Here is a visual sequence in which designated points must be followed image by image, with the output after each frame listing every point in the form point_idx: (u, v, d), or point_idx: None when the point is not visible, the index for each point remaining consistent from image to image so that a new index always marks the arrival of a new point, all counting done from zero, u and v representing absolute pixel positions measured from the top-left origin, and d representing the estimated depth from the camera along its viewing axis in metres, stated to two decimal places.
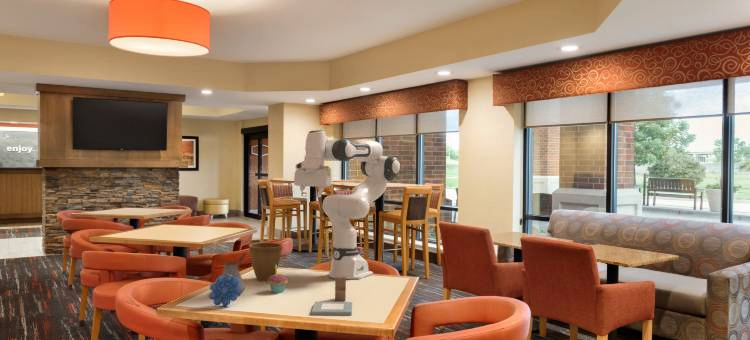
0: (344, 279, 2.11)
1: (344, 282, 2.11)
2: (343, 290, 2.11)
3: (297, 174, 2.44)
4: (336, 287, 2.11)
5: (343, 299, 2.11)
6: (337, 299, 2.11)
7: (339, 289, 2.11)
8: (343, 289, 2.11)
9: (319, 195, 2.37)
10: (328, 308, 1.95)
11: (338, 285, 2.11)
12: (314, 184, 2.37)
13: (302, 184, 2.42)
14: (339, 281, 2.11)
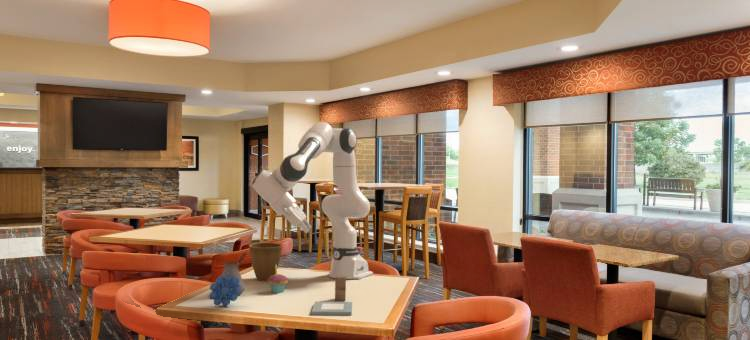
0: (344, 279, 2.11)
1: (344, 282, 2.11)
2: (343, 290, 2.11)
3: None
4: (336, 287, 2.11)
5: (343, 299, 2.11)
6: (337, 299, 2.11)
7: (339, 289, 2.11)
8: (343, 289, 2.11)
9: (306, 231, 2.07)
10: (328, 308, 1.95)
11: (338, 285, 2.11)
12: None
13: None
14: (339, 281, 2.11)
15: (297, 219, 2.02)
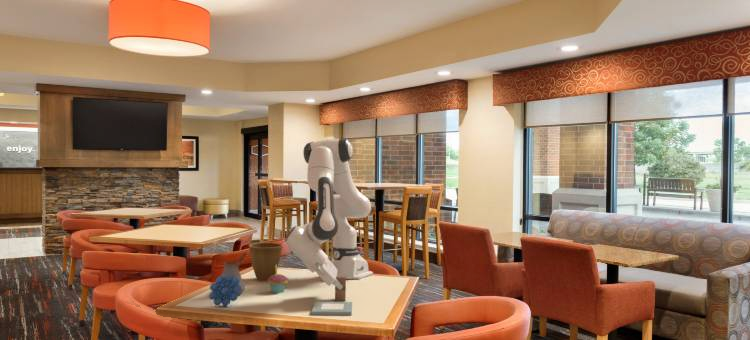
0: (344, 279, 2.11)
1: (344, 282, 2.11)
2: (343, 290, 2.11)
3: None
4: (336, 287, 2.11)
5: (343, 299, 2.11)
6: (337, 299, 2.11)
7: None
8: (343, 289, 2.11)
9: (339, 287, 2.10)
10: (328, 308, 1.95)
11: None
12: None
13: None
14: (339, 281, 2.11)
15: (331, 278, 2.03)
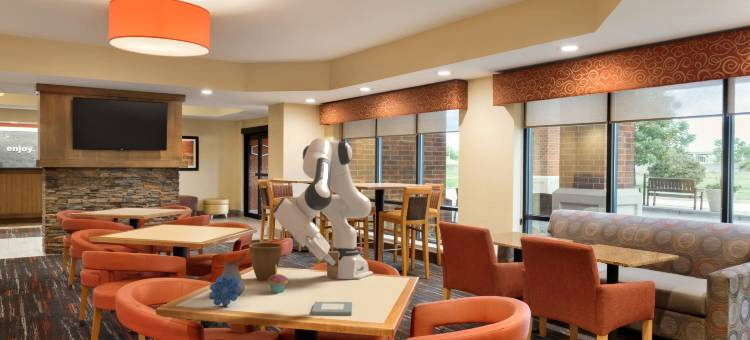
0: (337, 254, 1.96)
1: (337, 257, 1.96)
2: (336, 266, 1.96)
3: None
4: (328, 263, 1.96)
5: (336, 276, 1.96)
6: (329, 276, 1.96)
7: (331, 265, 1.96)
8: (336, 265, 1.96)
9: (332, 263, 1.94)
10: (328, 308, 1.95)
11: None
12: None
13: None
14: (331, 256, 1.96)
15: (323, 252, 1.88)
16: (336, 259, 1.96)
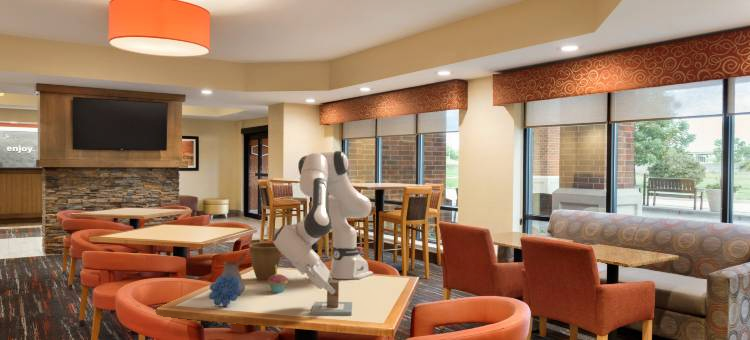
0: (337, 284, 1.96)
1: (337, 287, 1.96)
2: (336, 296, 1.96)
3: None
4: (328, 293, 1.96)
5: (336, 306, 1.96)
6: (329, 306, 1.96)
7: (331, 294, 1.96)
8: (336, 295, 1.96)
9: (331, 292, 1.92)
10: (328, 308, 1.95)
11: None
12: None
13: None
14: (331, 286, 1.96)
15: (322, 281, 1.88)
16: (336, 289, 1.96)
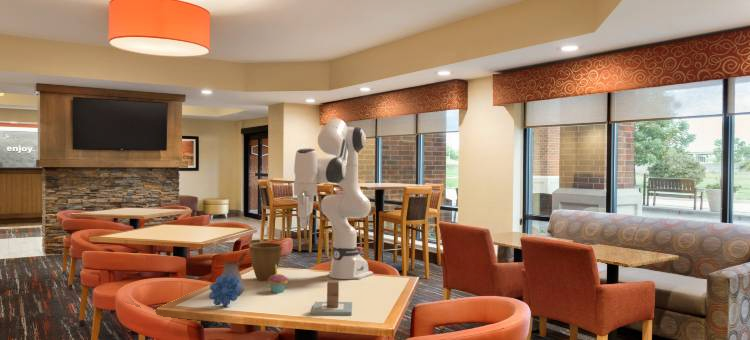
0: (337, 284, 1.96)
1: (337, 287, 1.96)
2: (336, 296, 1.96)
3: None
4: (328, 293, 1.96)
5: (336, 306, 1.96)
6: (329, 306, 1.96)
7: (331, 294, 1.96)
8: (336, 295, 1.96)
9: (302, 226, 2.02)
10: (328, 308, 1.95)
11: (330, 291, 1.96)
12: None
13: None
14: (331, 286, 1.96)
15: (305, 212, 1.97)
16: (336, 289, 1.96)
